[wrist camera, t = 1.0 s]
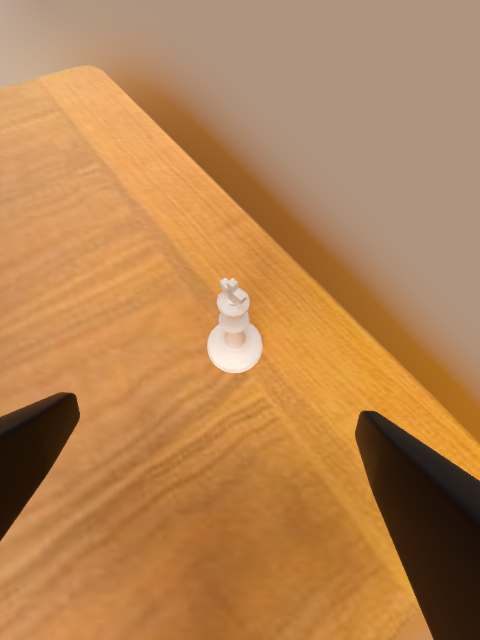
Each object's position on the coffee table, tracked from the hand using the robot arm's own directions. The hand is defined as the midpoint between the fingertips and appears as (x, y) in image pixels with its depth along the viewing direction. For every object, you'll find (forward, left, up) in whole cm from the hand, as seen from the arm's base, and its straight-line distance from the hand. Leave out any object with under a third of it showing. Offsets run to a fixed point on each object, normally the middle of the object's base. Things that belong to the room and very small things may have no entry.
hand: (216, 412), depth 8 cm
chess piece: (+5, -5, -13) cm, 14 cm away
